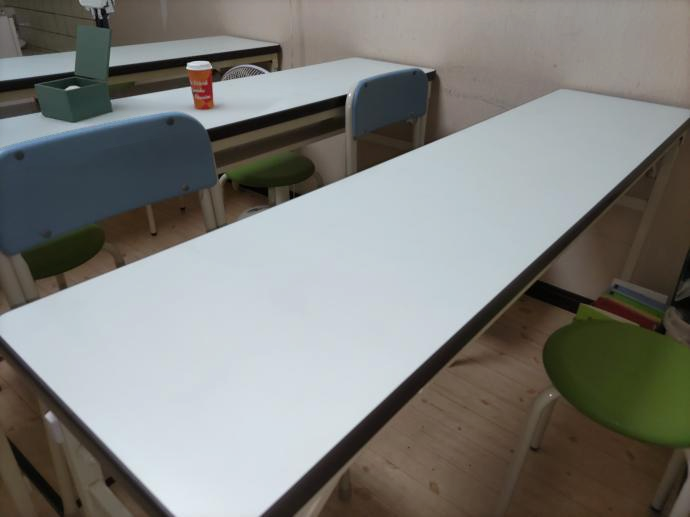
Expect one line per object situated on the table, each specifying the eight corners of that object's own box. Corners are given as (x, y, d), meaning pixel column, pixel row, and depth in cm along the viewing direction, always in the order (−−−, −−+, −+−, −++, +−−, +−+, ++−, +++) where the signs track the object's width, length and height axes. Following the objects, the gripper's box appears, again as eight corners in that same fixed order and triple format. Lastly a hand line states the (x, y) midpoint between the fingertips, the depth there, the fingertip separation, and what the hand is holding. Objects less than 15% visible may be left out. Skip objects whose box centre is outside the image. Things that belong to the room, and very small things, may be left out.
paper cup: (187, 111, 158) (180, 64, 151) (200, 105, 165) (194, 59, 158) (209, 113, 157) (203, 66, 149) (222, 107, 163) (216, 61, 156)
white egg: (97, 108, 154) (91, 83, 150) (85, 115, 148) (78, 89, 144) (65, 107, 155) (58, 82, 151) (51, 114, 148) (44, 88, 145)
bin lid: (110, 29, 146) (112, 29, 147) (77, 24, 151) (80, 25, 152) (105, 80, 149) (107, 81, 150) (74, 74, 155) (76, 75, 155)
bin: (73, 123, 144) (66, 91, 140) (42, 115, 149) (34, 84, 145) (112, 112, 155) (106, 82, 150) (82, 105, 160) (75, 76, 155)
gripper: (60, -39, 143) (76, 32, 152) (97, -37, 137) (111, 37, 147) (83, -39, 148) (97, 29, 158) (119, -37, 143) (131, 34, 152)
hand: (103, 33), depth 152 cm, fingers closed
